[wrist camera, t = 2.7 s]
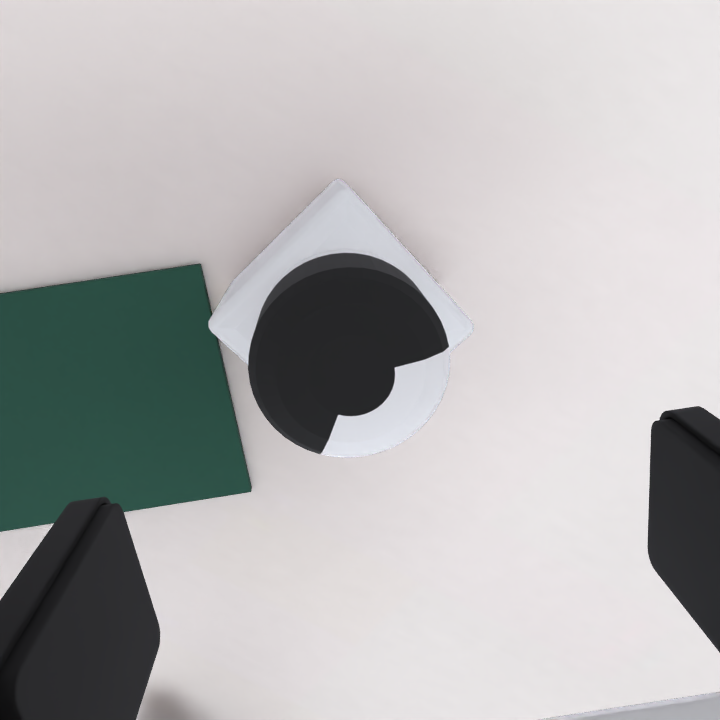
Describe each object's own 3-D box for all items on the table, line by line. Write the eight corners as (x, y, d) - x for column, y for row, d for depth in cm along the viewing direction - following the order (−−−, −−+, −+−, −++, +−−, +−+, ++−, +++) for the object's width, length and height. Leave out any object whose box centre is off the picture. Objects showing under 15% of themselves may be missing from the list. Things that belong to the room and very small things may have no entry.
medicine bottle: (228, 284, 28) (172, 375, 17) (338, 174, 27) (357, 194, 16) (334, 385, 30) (347, 526, 19) (441, 287, 29) (523, 377, 18)
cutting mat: (-15, 530, 32) (-20, 535, 31) (-107, 309, 28) (-112, 311, 27) (251, 488, 32) (251, 492, 32) (200, 263, 28) (199, 265, 28)
